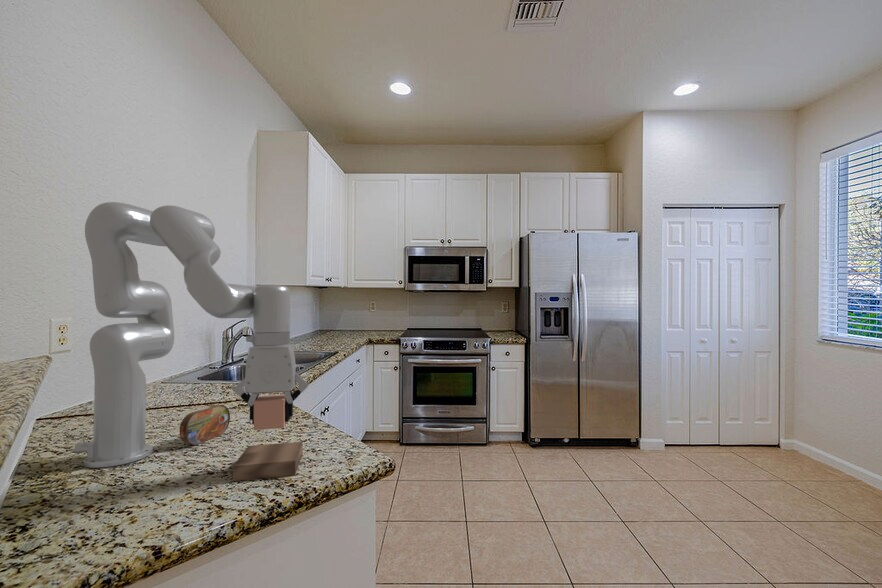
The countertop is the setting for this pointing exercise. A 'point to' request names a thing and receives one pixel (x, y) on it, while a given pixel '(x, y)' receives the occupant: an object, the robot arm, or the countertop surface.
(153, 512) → the countertop surface
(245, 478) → the base
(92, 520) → the countertop surface
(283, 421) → the cube
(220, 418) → the tin
